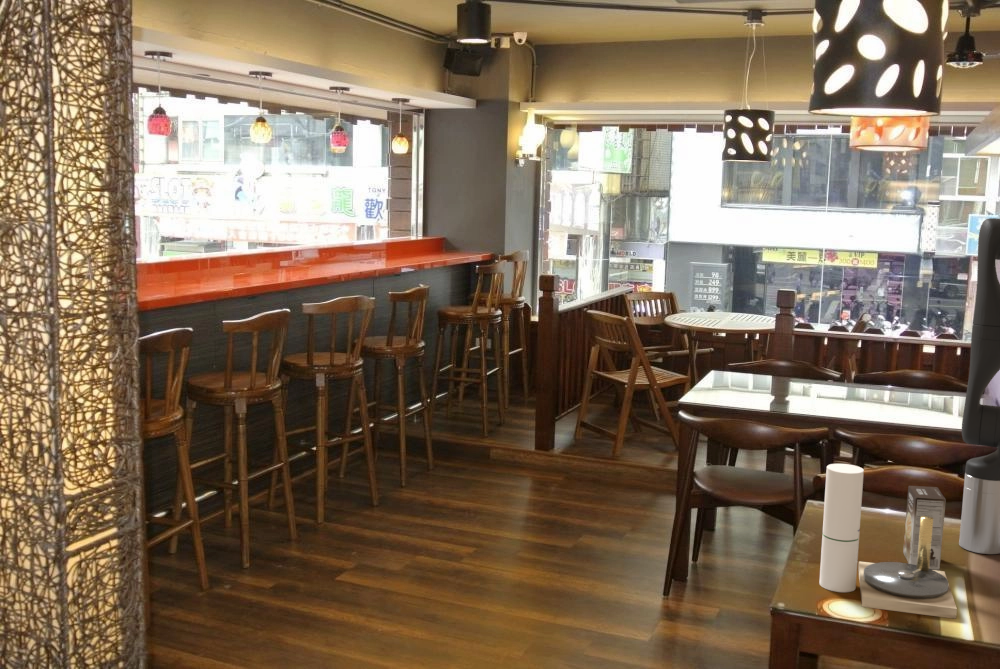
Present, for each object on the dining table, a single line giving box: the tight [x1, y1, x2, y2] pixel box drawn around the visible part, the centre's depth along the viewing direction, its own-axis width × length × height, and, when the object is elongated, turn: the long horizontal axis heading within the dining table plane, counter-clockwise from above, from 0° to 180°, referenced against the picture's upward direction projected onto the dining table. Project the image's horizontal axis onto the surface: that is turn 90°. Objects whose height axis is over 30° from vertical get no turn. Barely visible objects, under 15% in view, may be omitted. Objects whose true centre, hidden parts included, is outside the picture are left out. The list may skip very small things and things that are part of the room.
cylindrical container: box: [818, 463, 865, 593], centre depth 207 cm, size 7×7×25 cm
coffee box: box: [903, 485, 946, 571], centre depth 221 cm, size 9×6×16 cm
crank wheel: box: [863, 516, 949, 598], centre depth 204 cm, size 16×16×12 cm
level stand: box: [857, 560, 958, 619], centre depth 205 cm, size 20×17×2 cm
